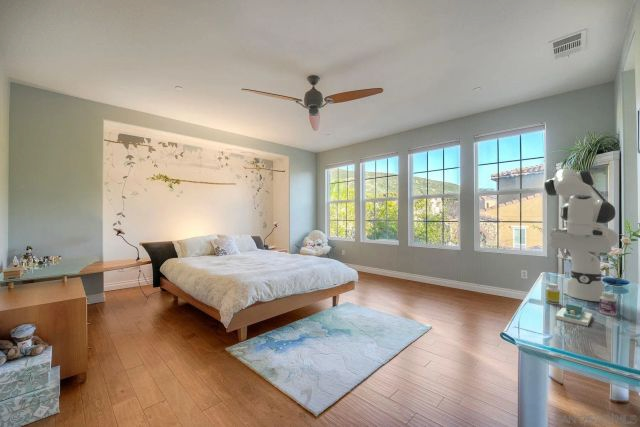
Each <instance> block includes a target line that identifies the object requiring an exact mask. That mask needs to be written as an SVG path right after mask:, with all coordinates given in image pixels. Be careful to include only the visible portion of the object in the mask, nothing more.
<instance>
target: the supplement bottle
mask: <svg viewBox="0 0 640 427" xmlns="http://www.w3.org/2000/svg"><path fill="white" fill-rule="evenodd" d="M558 287H559V285H558V284H556V283H552V282H550V283H547V287H546V288H545V303H548V304H551V305H560V292H561V290H560V289H559V288H558Z"/></svg>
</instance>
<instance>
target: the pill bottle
mask: <svg viewBox="0 0 640 427" xmlns="http://www.w3.org/2000/svg"><path fill="white" fill-rule="evenodd" d="M602 295H603V296H601V297H600V301H599V308H598V309H599V313H600V314H603V315H607V316H612V317H613V316H616V315H617V299H616V298H615V297H616V296H615V295H616V294H615V293H613V292H608V291H605V292H602Z"/></svg>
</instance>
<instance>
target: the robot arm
mask: <svg viewBox="0 0 640 427" xmlns="http://www.w3.org/2000/svg"><path fill="white" fill-rule="evenodd" d="M594 182H595V177H594V175H593V174H592V172H590V171H589V170H579V171H574V169H571V168H562V169H560V170H558V171H557V172H556V173H555V174H554V177H553V178H549V179H547V180H546V181H544V183H543V190H544V192H545V193H546V194H547V195H548V196H553V197H554V196H557V195H559V196H561V202H562V205H561V207H560V218H561V219H563V220H564V221H565V222H567V223H566V227H564V228H560V229H559V228H554V229H551V231H550V237H551V240H550V247H551V248H554V249H559V252H560V253H561V254H562V258H563V259H568V256H569V255H568V254H566V253H565V250H567V251H568V252H569V254H570V257H571V266H572V267H571V268H572V269H571V271H570V277H571V278H569V279H567V280H566V281H567V282H566V291H562V294H563V295H566V296H568V297H571V298H575V299H579V300H583V301H590V302H600V297H601V296H603V295H602V292H606V285H605V284H604V283H603V282H602V277H603V276H602V274H601V260H600V258H599V256H600V253H603V254H609V253H611V252H612V247H615V246H616V245H617V244H618V242H619V236H618V234H617V232H616V231H615V230H613V229H611V228H609V227H607V226H605V225H604V224H608V223H610V222H611V221H612V220H614V219H615V217H616V209H615V206H614V205H613V204H611V203H610V202H609V201H608V200H606V198H605V197H604V196H602V194H601V193H600V192H599V191H598V190H597V189H596V188H595V187H594V184H595V183H594ZM590 252H593V253H594V254H592V253H590Z"/></svg>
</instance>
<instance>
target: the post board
mask: <svg viewBox="0 0 640 427" xmlns="http://www.w3.org/2000/svg"><path fill="white" fill-rule="evenodd" d="M574 304H575V305H578V304H576V303H574ZM565 311H566V307H561V309H560V310H559V311H557V313H556V314H555V319H556V320H559V321H564V322H568V323H572V324H576V325H579V326H585V327H588V326H589V324H590V322H591V321H592V318H593V313H592V312H587V311H586V312H585V311H584V314H583V315H582V317H581V318H580V320H577V319H573V318H569V317H564V313H565ZM570 314H572V315H575V311H573V310H570Z"/></svg>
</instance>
